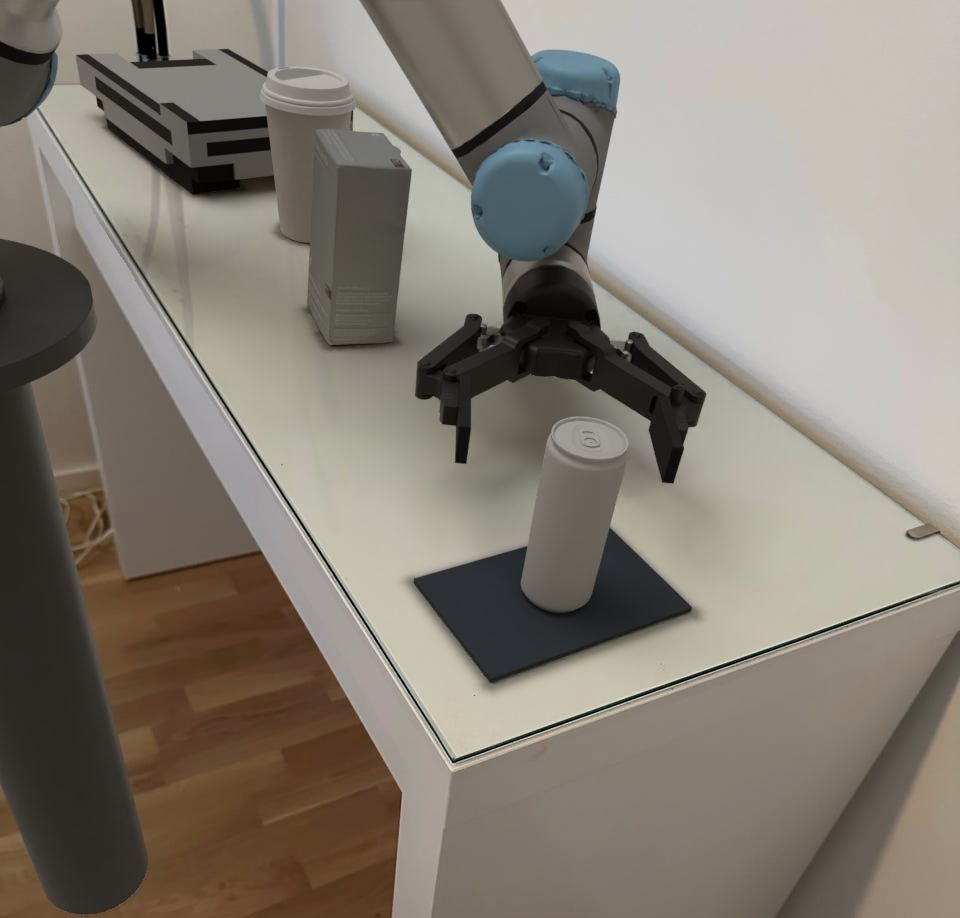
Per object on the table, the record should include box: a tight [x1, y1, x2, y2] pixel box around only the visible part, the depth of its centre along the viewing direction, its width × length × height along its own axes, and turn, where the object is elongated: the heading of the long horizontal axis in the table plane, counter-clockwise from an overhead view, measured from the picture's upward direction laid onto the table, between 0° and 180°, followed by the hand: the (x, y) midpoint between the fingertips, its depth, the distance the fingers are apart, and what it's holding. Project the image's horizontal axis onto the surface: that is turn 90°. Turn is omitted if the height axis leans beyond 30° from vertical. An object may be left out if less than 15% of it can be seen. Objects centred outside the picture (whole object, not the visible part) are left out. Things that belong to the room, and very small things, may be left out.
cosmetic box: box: [306, 129, 413, 346], centre depth 81 cm, size 8×7×16 cm
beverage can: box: [521, 416, 629, 613], centre depth 57 cm, size 5×5×12 cm
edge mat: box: [413, 527, 693, 684], centre depth 61 cm, size 10×16×1 cm, turn 121°
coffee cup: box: [260, 65, 357, 244], centre depth 96 cm, size 10×10×15 cm
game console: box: [75, 48, 354, 196], centre depth 114 cm, size 21×32×8 cm, turn 38°
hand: (569, 456), depth 58 cm, fingers open, 13 cm apart
